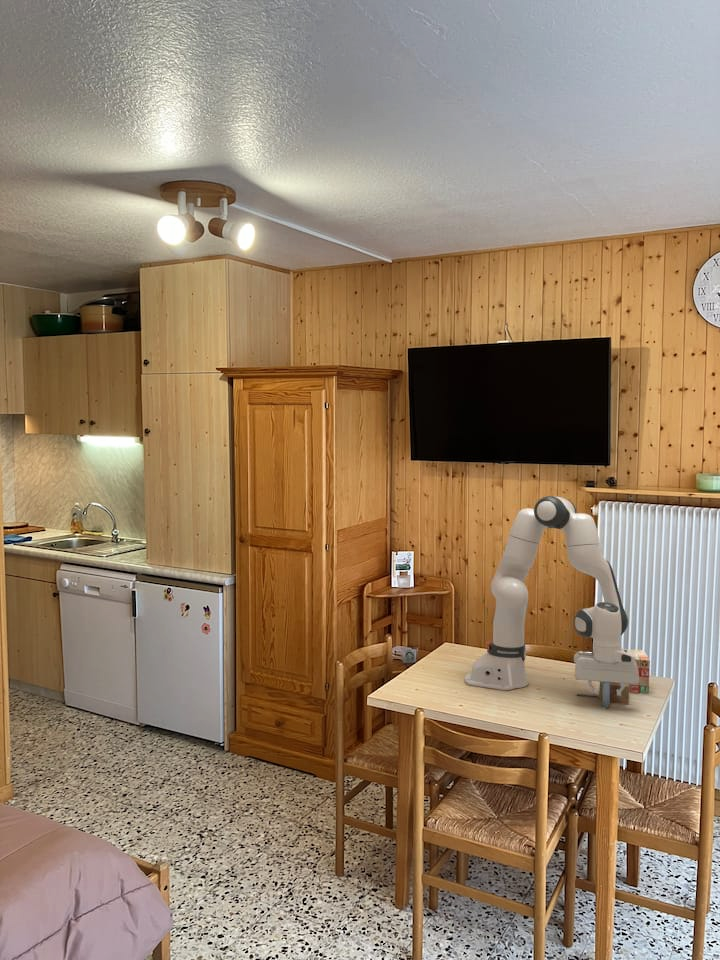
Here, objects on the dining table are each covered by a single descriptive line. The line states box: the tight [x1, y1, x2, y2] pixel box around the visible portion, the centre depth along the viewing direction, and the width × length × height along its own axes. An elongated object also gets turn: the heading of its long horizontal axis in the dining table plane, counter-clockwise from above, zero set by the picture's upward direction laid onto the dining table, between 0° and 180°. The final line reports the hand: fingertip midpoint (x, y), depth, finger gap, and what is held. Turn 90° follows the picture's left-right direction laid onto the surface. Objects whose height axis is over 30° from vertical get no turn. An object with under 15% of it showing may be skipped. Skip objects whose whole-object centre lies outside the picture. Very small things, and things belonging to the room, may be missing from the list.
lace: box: [576, 693, 599, 699], centre depth 267 cm, size 7×1×1 cm, turn 75°
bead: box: [599, 681, 630, 705], centre depth 264 cm, size 9×9×6 cm
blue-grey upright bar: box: [601, 682, 611, 709], centre depth 256 cm, size 2×2×11 cm
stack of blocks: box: [626, 648, 651, 695], centre depth 280 cm, size 21×6×12 cm, turn 170°
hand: (605, 694), depth 256 cm, fingers open, 7 cm apart
